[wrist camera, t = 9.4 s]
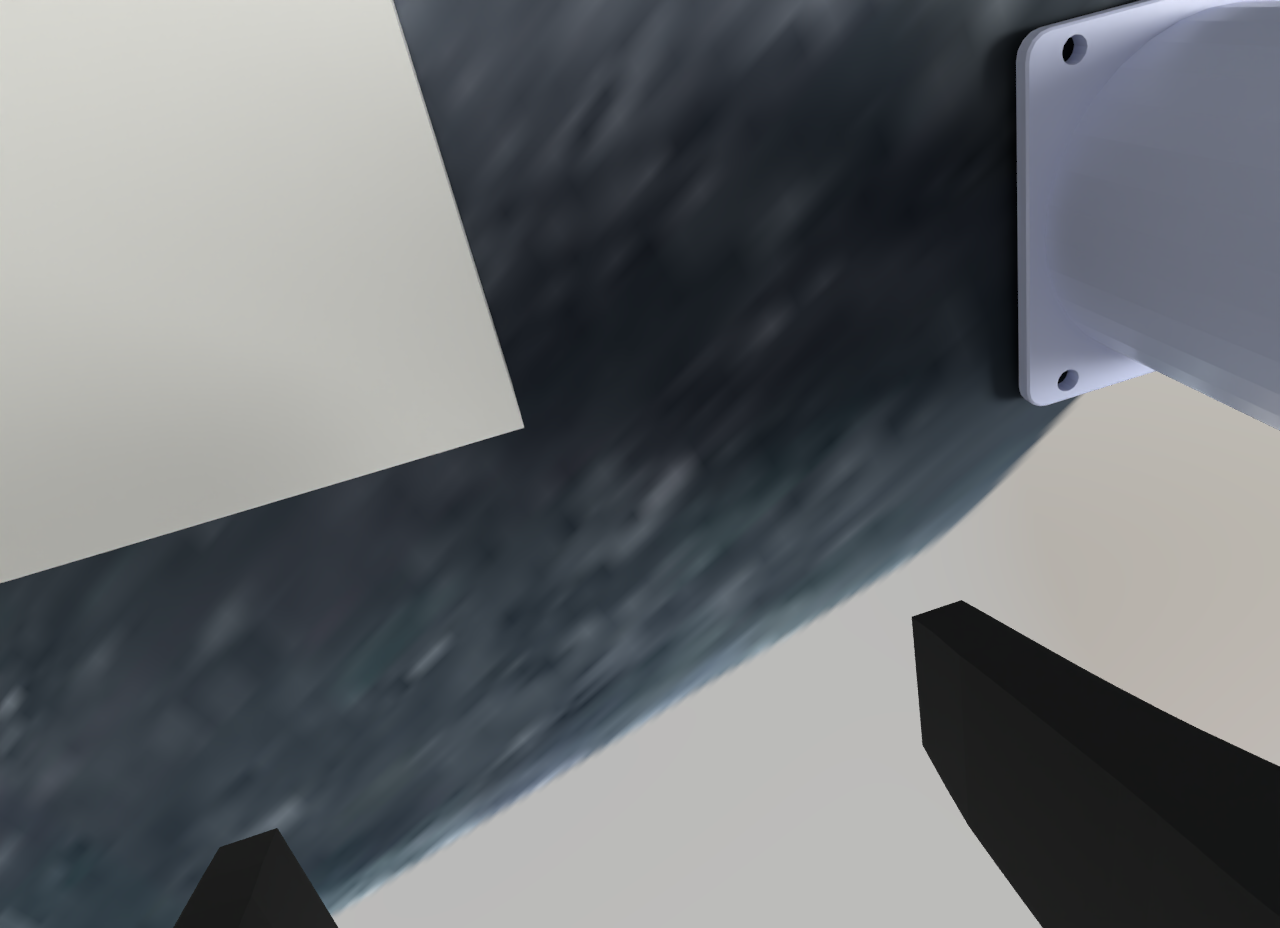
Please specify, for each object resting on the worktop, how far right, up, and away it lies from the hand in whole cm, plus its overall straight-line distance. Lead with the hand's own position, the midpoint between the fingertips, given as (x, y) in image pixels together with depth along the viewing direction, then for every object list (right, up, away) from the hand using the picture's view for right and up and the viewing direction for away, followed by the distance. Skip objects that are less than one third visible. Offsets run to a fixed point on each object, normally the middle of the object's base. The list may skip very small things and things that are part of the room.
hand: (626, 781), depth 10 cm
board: (-8, +8, +5) cm, 13 cm away
